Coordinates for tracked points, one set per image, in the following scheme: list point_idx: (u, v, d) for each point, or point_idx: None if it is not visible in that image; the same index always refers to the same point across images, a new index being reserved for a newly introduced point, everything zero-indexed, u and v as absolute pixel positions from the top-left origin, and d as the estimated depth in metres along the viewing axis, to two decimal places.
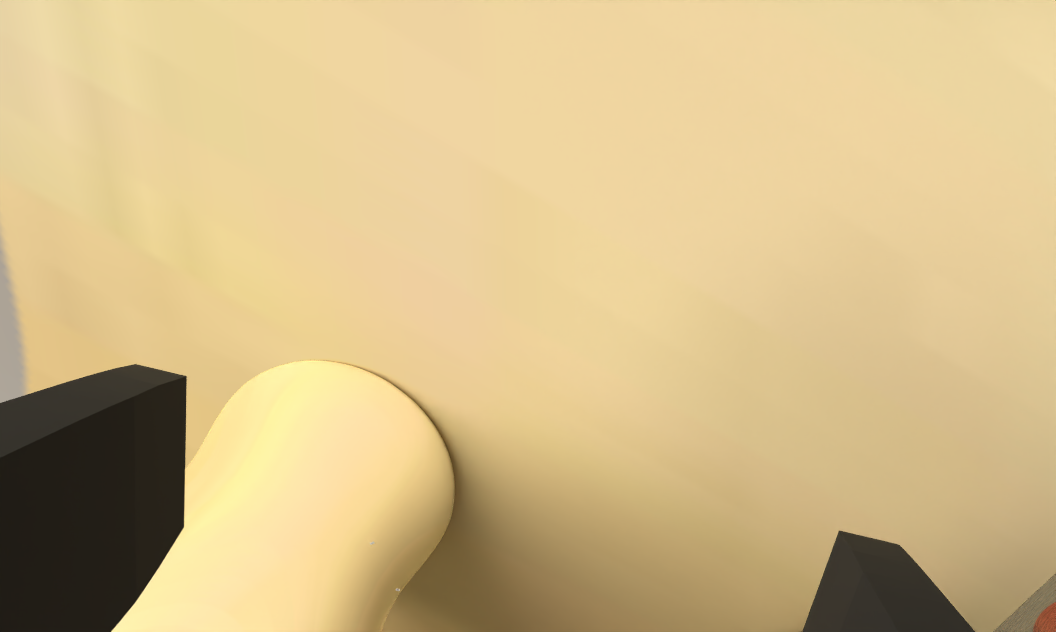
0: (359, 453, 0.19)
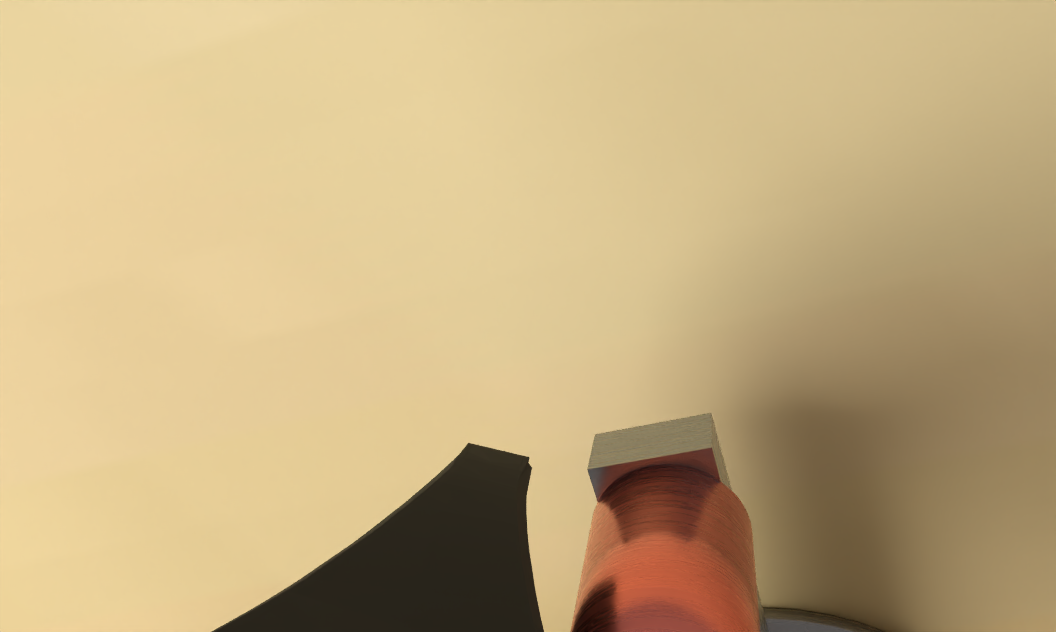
0: None
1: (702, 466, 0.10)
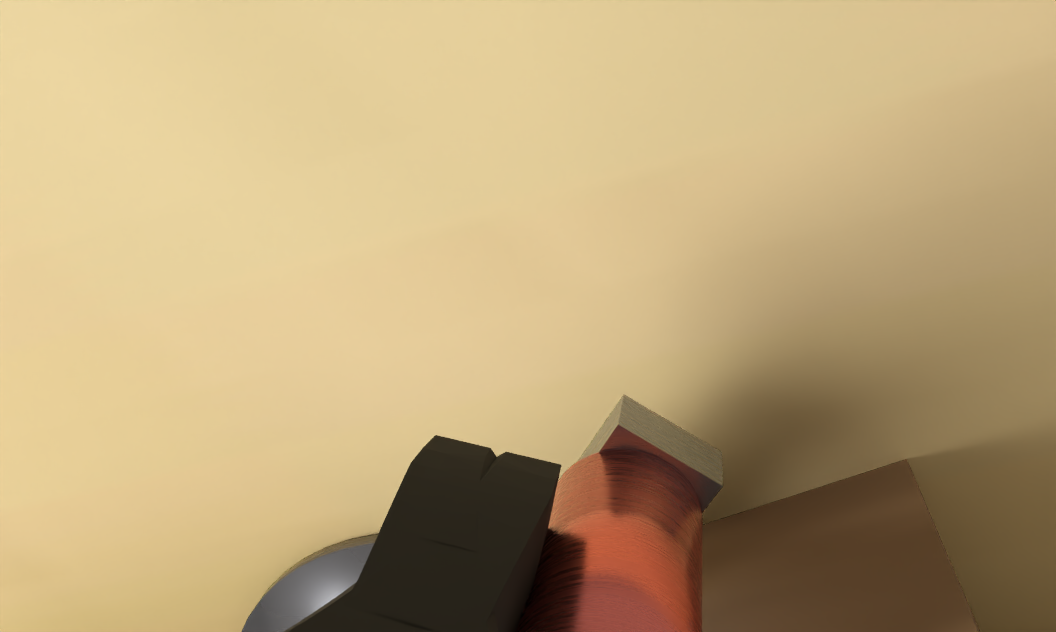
0: None
1: (701, 492, 0.11)
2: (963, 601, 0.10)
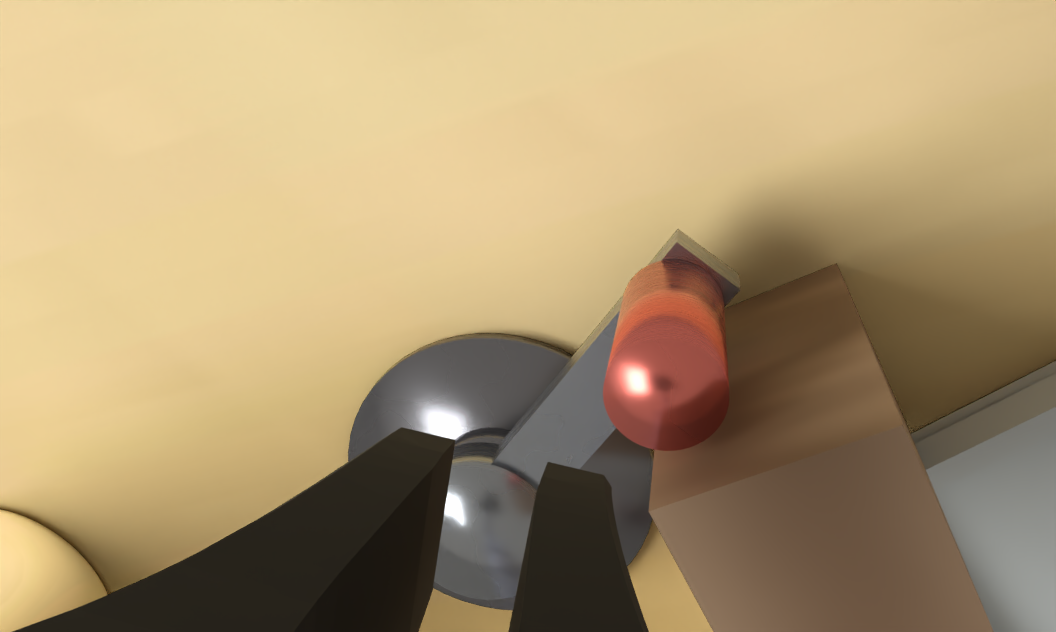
0: None
1: (725, 293, 0.16)
2: (859, 322, 0.15)
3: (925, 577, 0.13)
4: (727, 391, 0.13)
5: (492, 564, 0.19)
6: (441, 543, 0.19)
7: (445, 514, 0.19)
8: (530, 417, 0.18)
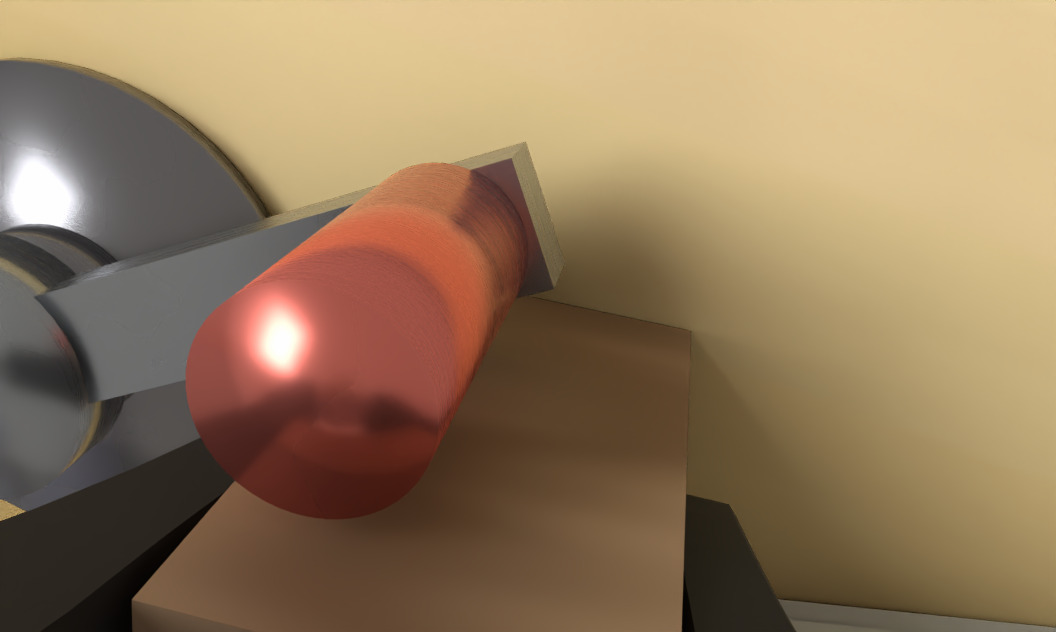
0: None
1: (530, 280, 0.09)
2: (686, 451, 0.09)
3: None
4: (423, 467, 0.06)
5: None
6: None
7: None
8: (133, 268, 0.10)
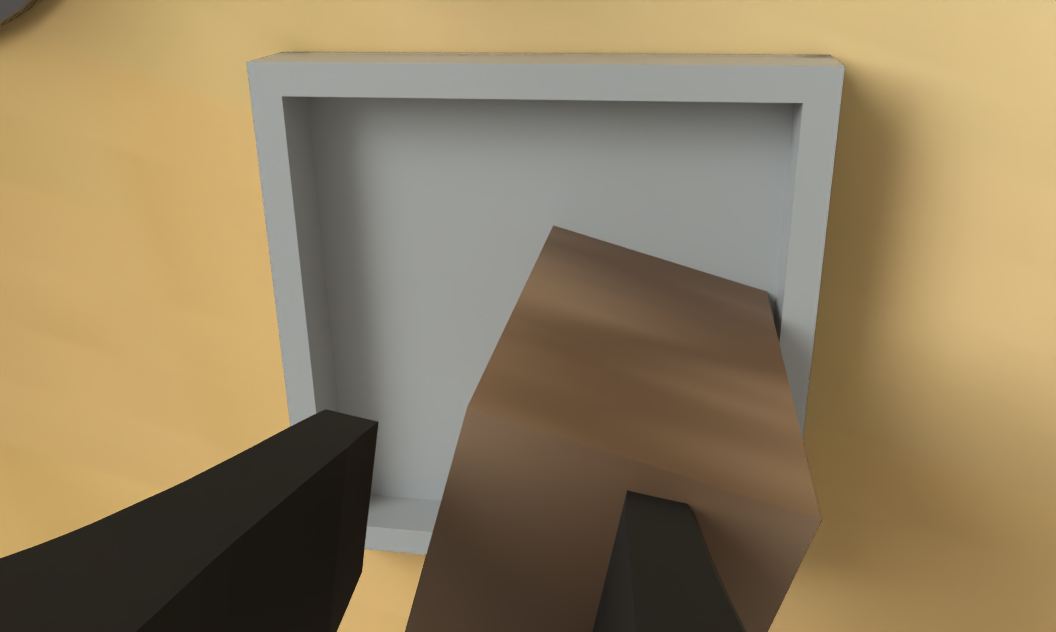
0: None
1: None
2: (784, 368, 0.12)
3: None
4: None
5: None
6: None
7: None
8: None
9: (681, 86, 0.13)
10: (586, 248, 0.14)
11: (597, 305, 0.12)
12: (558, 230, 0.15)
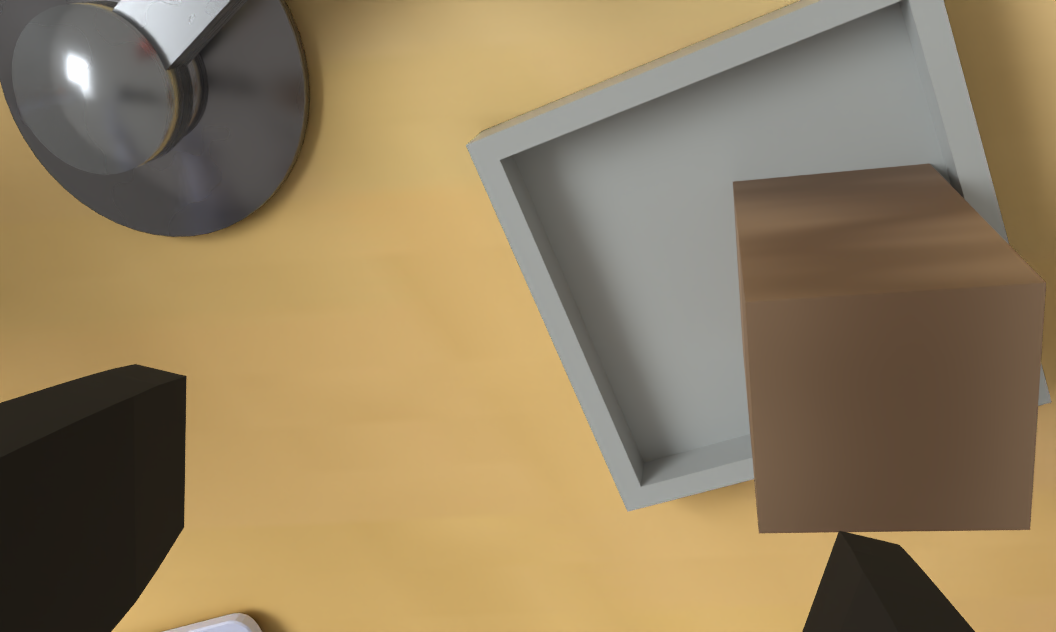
0: None
1: None
2: (971, 206, 0.15)
3: (991, 451, 0.12)
4: None
5: (100, 130, 0.18)
6: (50, 95, 0.18)
7: (57, 60, 0.18)
8: None
9: (804, 25, 0.16)
10: (767, 186, 0.17)
11: (800, 218, 0.15)
12: (738, 183, 0.18)
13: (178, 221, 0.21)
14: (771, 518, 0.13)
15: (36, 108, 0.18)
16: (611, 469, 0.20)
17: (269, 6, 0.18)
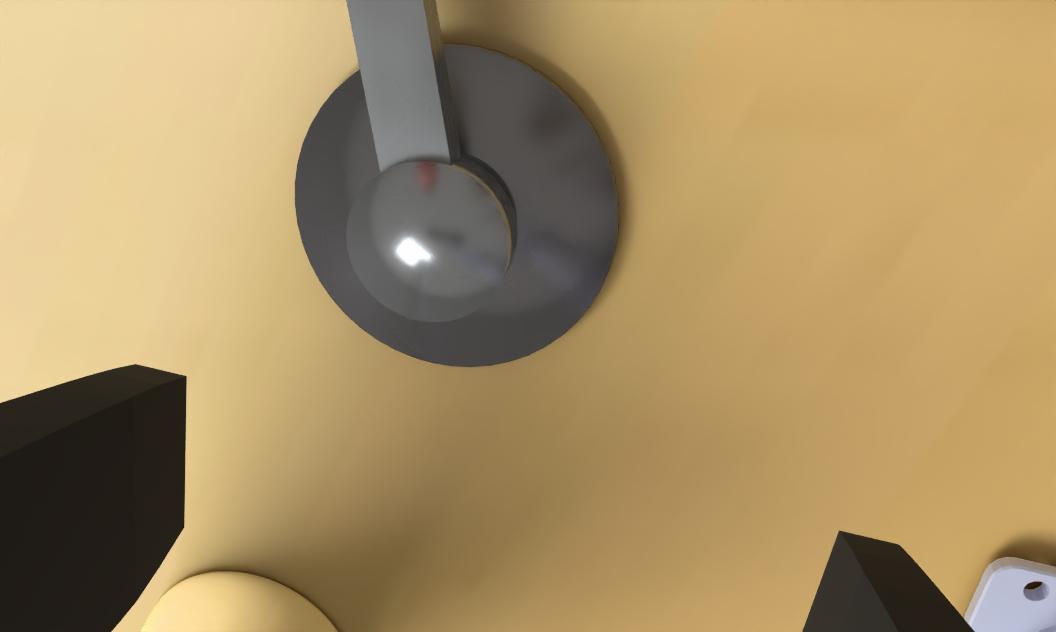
0: None
1: None
2: None
3: None
4: None
5: (460, 261, 0.18)
6: (408, 280, 0.18)
7: (387, 249, 0.18)
8: (367, 100, 0.17)
9: None
10: None
11: None
12: None
13: (580, 290, 0.20)
14: None
15: (410, 301, 0.18)
16: None
17: (464, 57, 0.18)
